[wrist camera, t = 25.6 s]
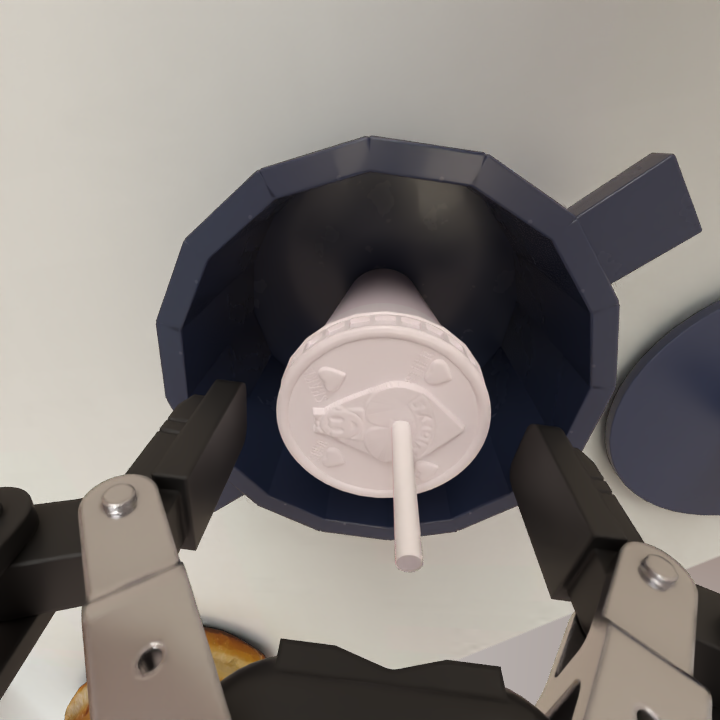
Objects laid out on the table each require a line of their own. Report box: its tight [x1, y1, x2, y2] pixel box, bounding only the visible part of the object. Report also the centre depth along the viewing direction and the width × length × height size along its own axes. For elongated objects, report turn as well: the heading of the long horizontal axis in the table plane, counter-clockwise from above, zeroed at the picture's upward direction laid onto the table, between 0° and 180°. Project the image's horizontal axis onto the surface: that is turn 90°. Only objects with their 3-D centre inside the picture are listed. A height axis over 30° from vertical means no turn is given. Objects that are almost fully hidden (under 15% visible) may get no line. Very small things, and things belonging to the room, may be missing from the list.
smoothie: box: [276, 269, 491, 572], centre depth 14 cm, size 6×6×14 cm
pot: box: [156, 136, 702, 540], centre depth 17 cm, size 15×20×8 cm
